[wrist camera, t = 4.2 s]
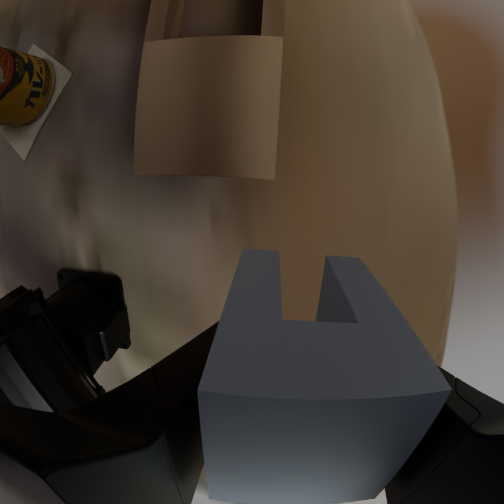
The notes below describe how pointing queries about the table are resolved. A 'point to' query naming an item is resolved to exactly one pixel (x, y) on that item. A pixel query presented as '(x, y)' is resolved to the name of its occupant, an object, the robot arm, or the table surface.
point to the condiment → (27, 94)
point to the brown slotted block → (208, 98)
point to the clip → (312, 390)
